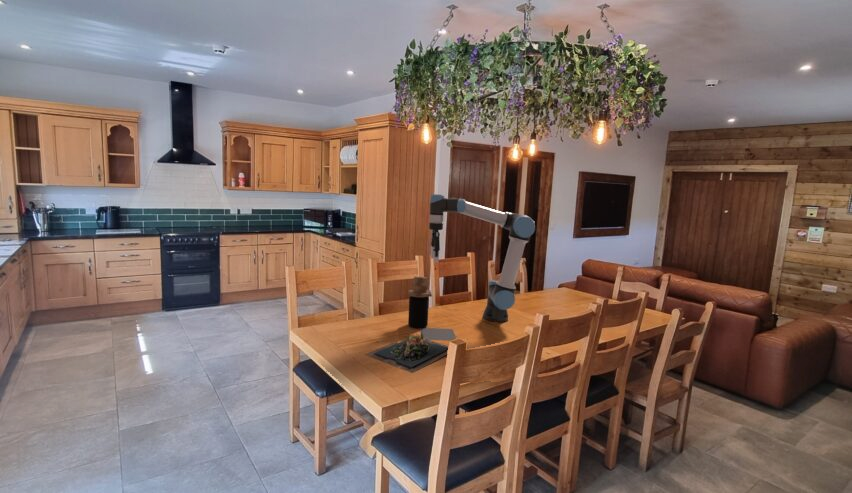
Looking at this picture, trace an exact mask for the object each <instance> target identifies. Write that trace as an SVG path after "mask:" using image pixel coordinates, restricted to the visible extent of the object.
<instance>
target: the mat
mask: <svg viewBox="0 0 852 493" xmlns="http://www.w3.org/2000/svg"><path fill="white" fill-rule="evenodd" d="M422 330H423V331H422ZM419 331H420V333H421V331H422V334H423V335H424V336H423V338H425V339H427V340H430V341H444V342H445V341H448V342H450V341H451V340H454V339H457V337H456V334H455V332H454V329H453V328H439V327H438V328H437V327H436V328H435V327H425V328H419ZM451 342H452V341H451Z"/></svg>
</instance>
